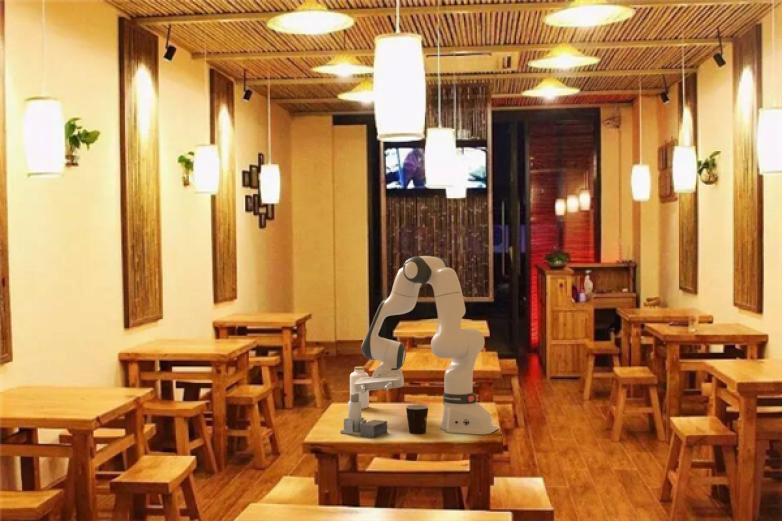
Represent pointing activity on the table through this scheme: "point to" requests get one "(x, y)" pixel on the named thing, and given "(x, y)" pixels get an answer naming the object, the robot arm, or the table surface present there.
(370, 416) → the table surface
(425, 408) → the coffee mug
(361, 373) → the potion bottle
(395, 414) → the table surface
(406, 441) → the table surface
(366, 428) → the bottle holder
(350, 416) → the white lotion bottle
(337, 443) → the table surface
